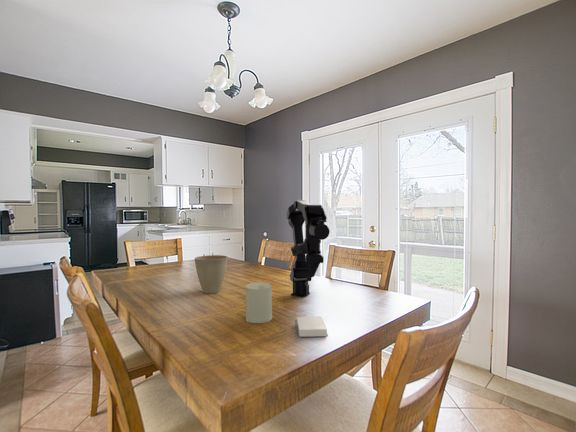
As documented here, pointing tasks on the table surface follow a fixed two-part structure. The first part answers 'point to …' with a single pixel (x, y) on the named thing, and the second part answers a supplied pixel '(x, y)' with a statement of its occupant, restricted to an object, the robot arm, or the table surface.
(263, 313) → the can
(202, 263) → the plant pot
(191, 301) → the table surface
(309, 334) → the tile
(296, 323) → the mat
